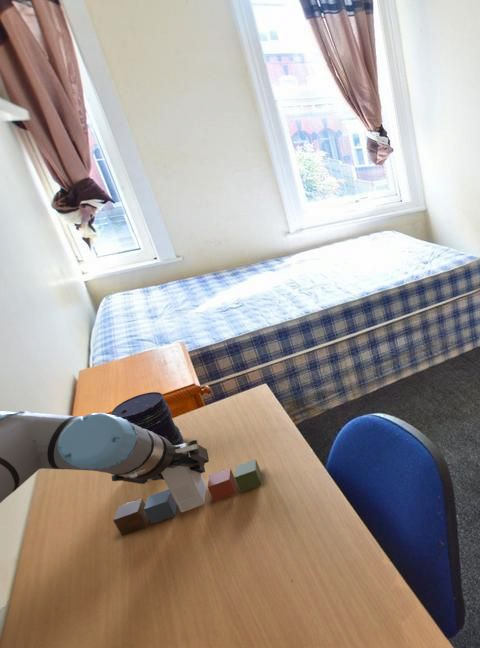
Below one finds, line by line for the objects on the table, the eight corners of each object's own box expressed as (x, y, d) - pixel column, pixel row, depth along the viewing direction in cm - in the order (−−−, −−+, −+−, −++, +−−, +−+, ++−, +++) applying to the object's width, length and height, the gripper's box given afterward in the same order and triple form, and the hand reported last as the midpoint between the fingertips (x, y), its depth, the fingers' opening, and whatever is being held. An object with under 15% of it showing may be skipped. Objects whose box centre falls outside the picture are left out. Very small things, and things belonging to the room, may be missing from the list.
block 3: (214, 501, 97) (207, 487, 96) (215, 489, 101) (209, 475, 99) (235, 494, 99) (229, 479, 97) (236, 482, 102) (230, 467, 100)
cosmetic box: (184, 494, 99) (162, 449, 94) (207, 485, 100) (186, 441, 96) (180, 513, 94) (157, 467, 89) (204, 505, 95) (182, 459, 91)
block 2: (151, 524, 93) (143, 509, 91) (155, 510, 96) (147, 496, 95) (175, 515, 95) (167, 501, 93) (178, 502, 98) (170, 488, 96)
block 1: (121, 535, 91) (112, 520, 90) (126, 521, 95) (118, 506, 93) (145, 526, 93) (137, 511, 91) (150, 512, 96) (142, 498, 94)
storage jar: (172, 438, 119) (148, 388, 114) (195, 446, 115) (172, 395, 109) (129, 463, 111) (102, 412, 105) (152, 474, 107) (125, 420, 101)
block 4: (240, 492, 99) (234, 477, 97) (241, 480, 102) (235, 466, 101) (261, 484, 101) (255, 470, 99) (261, 473, 104) (255, 459, 102)
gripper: (76, 497, 74) (142, 505, 94) (201, 456, 80) (237, 472, 101) (72, 451, 76) (137, 469, 96) (194, 415, 83) (231, 439, 103)
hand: (188, 470), depth 98 cm, fingers closed on cosmetic box, 4 cm apart
